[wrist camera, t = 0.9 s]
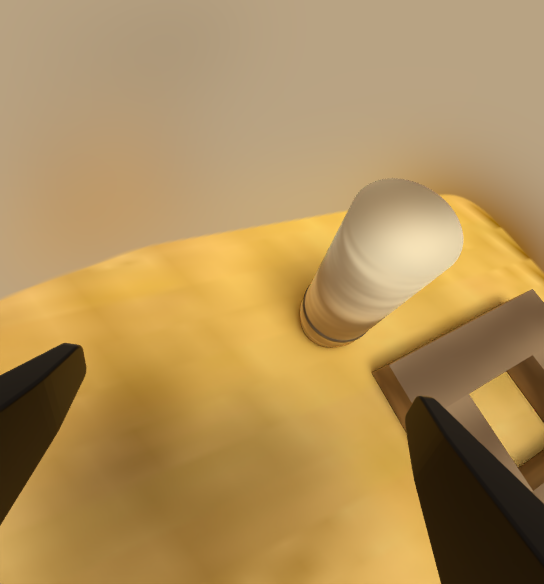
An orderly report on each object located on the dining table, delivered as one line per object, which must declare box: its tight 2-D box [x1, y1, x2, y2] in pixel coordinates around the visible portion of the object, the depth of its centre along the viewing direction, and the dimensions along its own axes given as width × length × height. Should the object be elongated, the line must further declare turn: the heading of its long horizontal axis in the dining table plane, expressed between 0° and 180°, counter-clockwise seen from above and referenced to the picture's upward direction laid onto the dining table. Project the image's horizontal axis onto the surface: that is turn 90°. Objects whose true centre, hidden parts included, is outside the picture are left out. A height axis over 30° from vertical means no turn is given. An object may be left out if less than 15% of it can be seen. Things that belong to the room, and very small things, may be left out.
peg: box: [300, 179, 463, 347], centre depth 20 cm, size 5×5×13 cm
